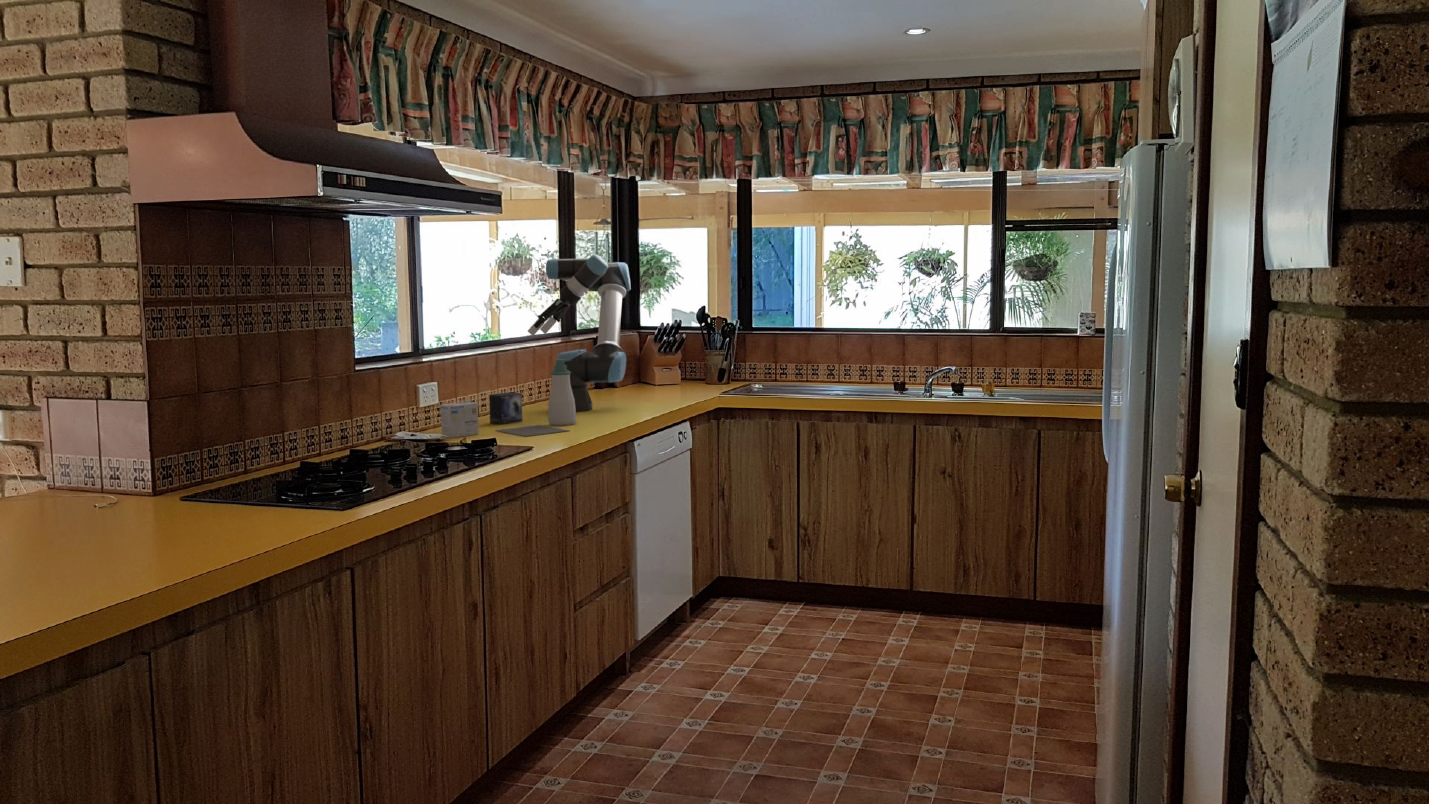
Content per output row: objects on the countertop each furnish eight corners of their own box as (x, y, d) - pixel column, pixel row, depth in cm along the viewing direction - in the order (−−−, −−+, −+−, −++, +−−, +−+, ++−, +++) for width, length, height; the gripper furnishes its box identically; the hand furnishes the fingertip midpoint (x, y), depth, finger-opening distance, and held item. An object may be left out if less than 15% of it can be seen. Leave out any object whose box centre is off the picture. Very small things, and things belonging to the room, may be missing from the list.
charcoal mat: (538, 425, 376) (538, 424, 376) (569, 431, 361) (569, 430, 361) (495, 431, 365) (495, 430, 365) (525, 436, 350) (525, 435, 350)
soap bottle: (578, 425, 376) (576, 360, 373) (550, 426, 373) (548, 361, 370) (573, 421, 385) (571, 358, 382) (546, 423, 382) (543, 359, 380)
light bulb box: (468, 432, 363) (467, 401, 362) (479, 434, 358) (478, 402, 357) (440, 436, 356) (439, 404, 354) (451, 438, 351) (449, 405, 349)
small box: (501, 424, 381) (500, 395, 380) (489, 423, 385) (487, 394, 384) (523, 421, 389) (522, 392, 388) (511, 420, 393) (510, 391, 392)
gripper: (570, 298, 379) (532, 341, 383) (591, 297, 403) (554, 337, 407) (555, 283, 379) (517, 327, 383) (577, 283, 403) (540, 323, 408)
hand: (536, 332), depth 395 cm, fingers open, 13 cm apart
